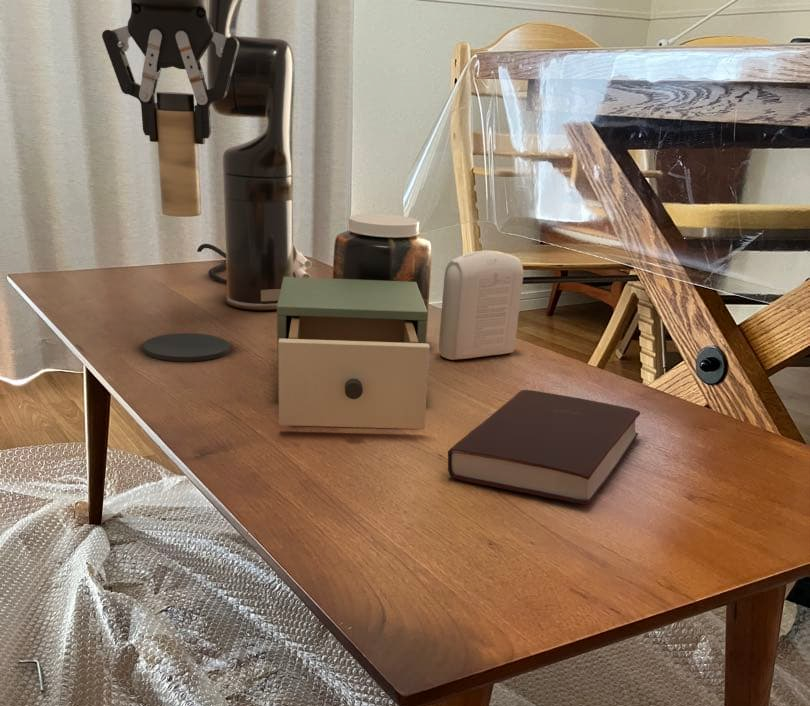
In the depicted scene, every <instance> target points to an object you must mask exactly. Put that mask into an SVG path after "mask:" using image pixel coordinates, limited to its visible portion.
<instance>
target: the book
mask: <svg viewBox="0 0 810 706" xmlns="http://www.w3.org/2000/svg"><path fill="white" fill-rule="evenodd" d="M640 415H641V411H639V410H637V409H633V408H631V407H625V406H621V405H618V404H617V405H616V404H612V403H607V402H601V401H595V400H590V399H585V398H580V397H575V396H569V395H564V394H556V393H551V392H544V391H538V390H531V389H523V390H522V389H521V390H520V391H518V392H517V393H516V394H515V395H514V396H512V397H511V398H510V399H509V400H508V401H507V402H506V403H504V404H503V405H502V406H501V407H499V408H498V409H497V410H496V411H495V412H494V413H492V414H491V415H490V416H489V417H487V418H486V419H485V420H484V421H482V423H480V424H479V425H478V426H475V428H473V429H472V430H471V431H469V432H468V433H467V434H466V435H465V436H464V437H462V438H461V439H460V440H459V441H458V442H456V443H455V444H454V445H453V446H451V447H450V449H449V450H447V471H448V474H449V476H450V477H451V478H452V479H457V480H459V481H463V482H468V483H473V484H476V485H482V486H488V487H493V488H497V489H503V490H507V491H512V492H519V493H525V494H529V495H533V496H534V495H535V496H538V497H544V498H549V499H554V500H555V499H556V500H560V501H565V502H569V503H572V504H573V503H575V504H582V505H589V503H591V501H592V500H593V499H594V498H595V497H596V495H597V494H598V492H599V491H600V490H601V488H602V487H603V486H604V484H605V483H606V482H607V480H608V479H609V478H610V476H611V475H612V473H613V472H614V470H616V468H617V466H618V465H619V464H620V462H621V461H622V459H623V458H624V457H625V455H626V453H627V452H628V451H629V449H630V447H631V446H632V445H633V443H634V442H635V441H636V439H637V438H638V435H639V432H637V431H636V420H637V418H638V417H639V416H640Z"/></svg>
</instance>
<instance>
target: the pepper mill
mask: <svg viewBox="0 0 810 706" xmlns="http://www.w3.org/2000/svg"><path fill="white" fill-rule="evenodd" d="M155 96H156V103H157V109H156V125H157V141H158V142H157V153H158V154H157V155H158V171H159V185H160V199H161V201H160V203H161V213H162V214H163V215H165V216H168V217H169V216H170V217H178V218H179V217H180V218H188V217H189V218H190V217H191V218H193V217H198V216H201V215H202V200H201V181H200V180H201V178H200V157H199V156H200V155H199V144H197V143H196V127H195V95H194V93H189V92H174V91H156V93H155Z"/></svg>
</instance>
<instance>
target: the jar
mask: <svg viewBox="0 0 810 706" xmlns="http://www.w3.org/2000/svg"><path fill="white" fill-rule="evenodd" d="M332 262H333V263H332V264H333V265H332V279H355V280H380V281H405V282H416V283H417V286H418V288H419V291H420V294H421V296H422V299H423V301H424V304H425V307H426V309H427V312H428V313H429V309H430V308H429V307H430V296H431V295H430V293H431V278H432V275H431V274H432V244H431V241H430V240H429V239H428V238H426V237H424V236H422V235H420V220H418V219H417V218H413V217H409V216H404V215H397V214H387V213H357V214H351V215H350V216H349V217H348V227H347V230H346V231H342V232H340V233H338V234H337V235H336V236H335V239H334V247H333V261H332ZM428 322H429V315H428V316H427V326H428V325H429V323H428ZM427 337H428V331H427V332H426V340H427Z"/></svg>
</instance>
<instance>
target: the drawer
mask: <svg viewBox="0 0 810 706" xmlns="http://www.w3.org/2000/svg"><path fill="white" fill-rule="evenodd" d="M430 354H431V347H430V344H429V343H427V342H426V343H419V342H418V339H417V336H416V332H415V329H414V326H413V323H412V320H395V319H368V318H340V317H313V316H292V318H291V325H290V331H289V339H279V341H278V366H279V402H278V425H279V426H289V427H290V426H292V427H326V428H327V427H328V428H331V427H332V428H364V429H365V428H368V429H404V430H405V429H406V430H407V429H408V430H409V429H410V430H424V429H425V427H426V412H427V411H426V410H427V397H428V383H429V369H430V368H429V367H430Z"/></svg>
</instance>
